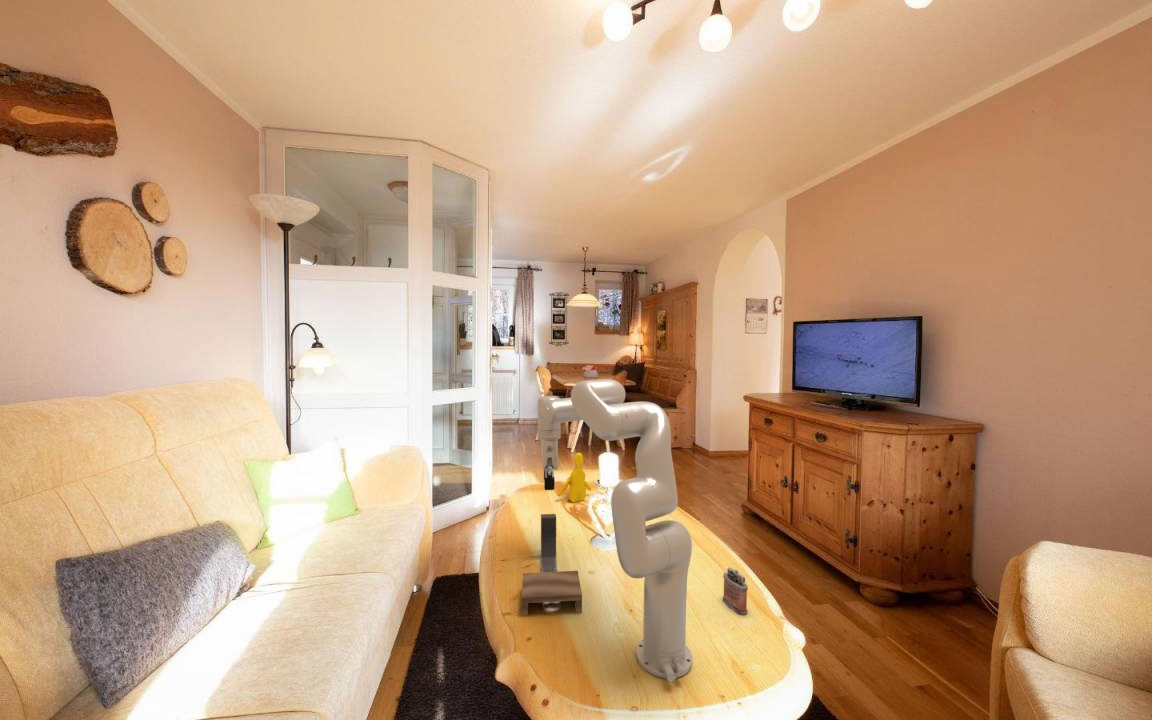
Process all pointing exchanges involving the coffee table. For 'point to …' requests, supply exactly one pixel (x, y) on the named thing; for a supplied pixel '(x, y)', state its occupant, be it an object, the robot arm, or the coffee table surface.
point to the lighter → (735, 591)
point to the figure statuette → (576, 481)
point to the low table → (551, 588)
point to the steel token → (551, 606)
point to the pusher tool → (548, 543)
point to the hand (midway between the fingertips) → (549, 484)
